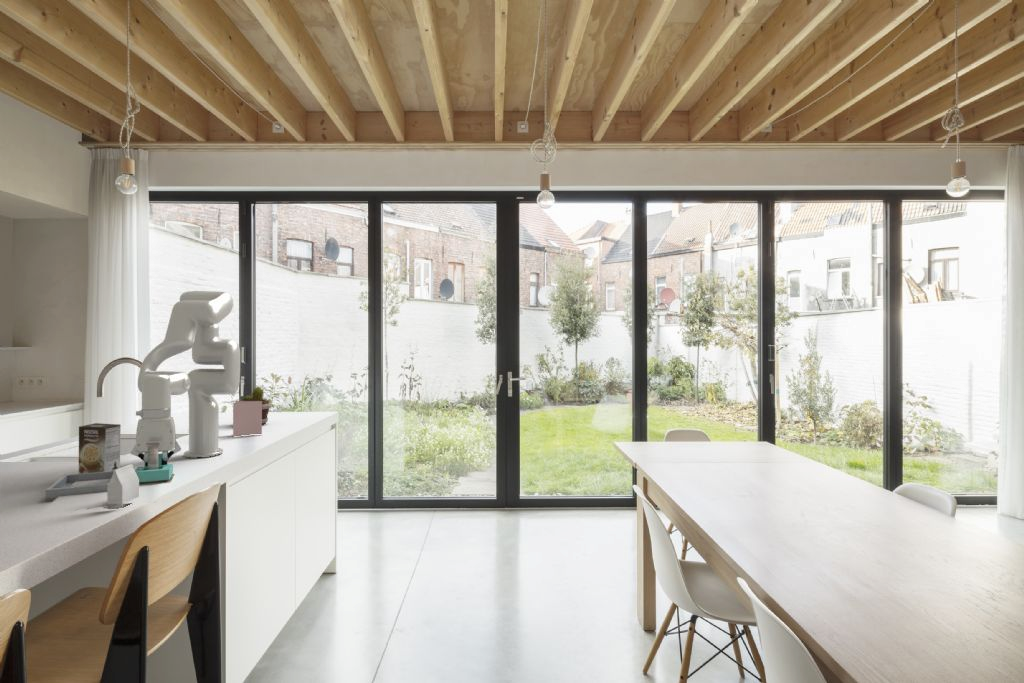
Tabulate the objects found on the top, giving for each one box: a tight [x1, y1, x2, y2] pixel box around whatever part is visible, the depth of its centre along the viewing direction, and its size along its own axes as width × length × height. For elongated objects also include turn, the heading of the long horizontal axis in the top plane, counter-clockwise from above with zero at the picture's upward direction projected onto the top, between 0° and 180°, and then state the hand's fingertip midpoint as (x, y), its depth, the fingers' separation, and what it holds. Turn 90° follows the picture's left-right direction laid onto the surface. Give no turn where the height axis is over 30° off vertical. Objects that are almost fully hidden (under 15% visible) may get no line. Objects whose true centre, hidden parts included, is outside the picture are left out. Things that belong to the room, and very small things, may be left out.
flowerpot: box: [240, 384, 272, 426], centre depth 266 cm, size 14×15×20 cm
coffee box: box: [78, 422, 121, 474], centre depth 170 cm, size 9×6×16 cm
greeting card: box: [232, 400, 263, 437], centre depth 237 cm, size 11×7×15 cm, turn 92°
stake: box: [139, 441, 175, 486], centre depth 163 cm, size 10×10×12 cm
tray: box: [44, 471, 114, 502], centre depth 156 cm, size 17×14×3 cm
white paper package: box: [106, 463, 140, 510], centre depth 143 cm, size 4×7×10 cm, turn 3°
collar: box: [134, 452, 174, 482], centre depth 165 cm, size 13×9×6 cm
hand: (156, 473), depth 169 cm, fingers closed on collar, 3 cm apart
